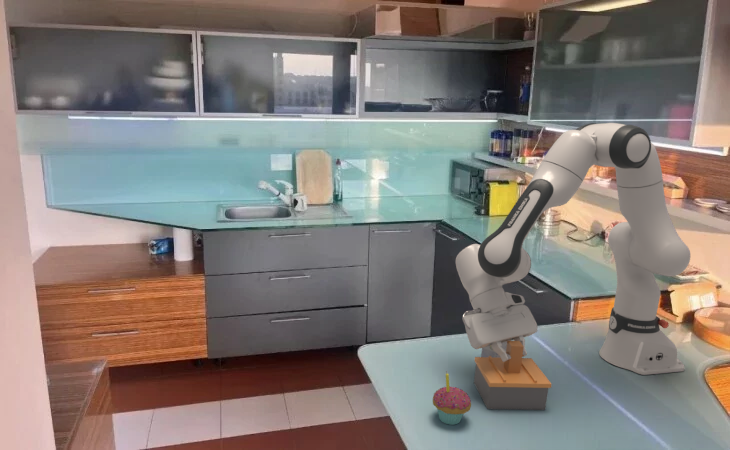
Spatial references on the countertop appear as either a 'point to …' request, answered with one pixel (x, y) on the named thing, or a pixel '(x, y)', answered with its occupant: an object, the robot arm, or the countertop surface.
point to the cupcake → (451, 403)
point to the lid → (512, 370)
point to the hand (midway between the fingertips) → (515, 358)
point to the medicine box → (492, 351)
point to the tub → (510, 395)
